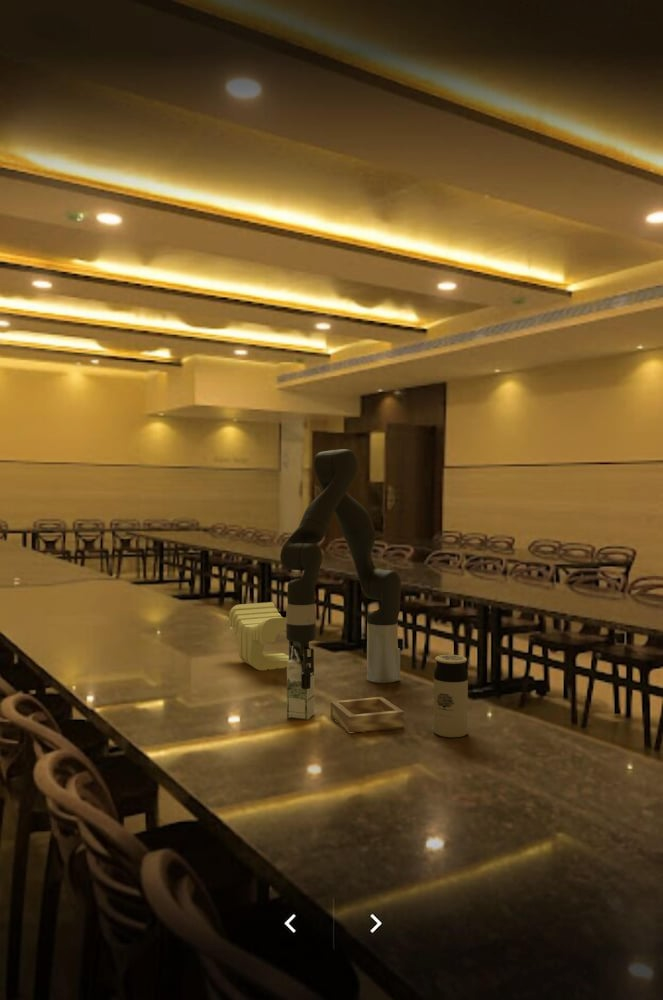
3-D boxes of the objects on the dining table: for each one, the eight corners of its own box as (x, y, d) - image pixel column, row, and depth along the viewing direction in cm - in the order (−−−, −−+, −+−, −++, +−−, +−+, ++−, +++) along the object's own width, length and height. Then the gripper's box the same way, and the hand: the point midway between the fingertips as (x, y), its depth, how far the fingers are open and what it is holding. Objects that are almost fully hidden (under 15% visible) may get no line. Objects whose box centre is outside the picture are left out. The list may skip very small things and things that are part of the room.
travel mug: (447, 725, 195) (447, 652, 195) (474, 733, 189) (474, 658, 189) (426, 733, 190) (427, 657, 189) (453, 740, 184) (454, 663, 183)
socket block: (381, 712, 206) (381, 696, 206) (403, 728, 193) (403, 711, 193) (330, 717, 202) (330, 701, 202) (349, 733, 189) (349, 717, 189)
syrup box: (315, 714, 204) (315, 658, 204) (307, 720, 199) (307, 663, 198) (294, 712, 206) (294, 656, 206) (286, 718, 201) (286, 661, 200)
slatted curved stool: (228, 657, 269) (228, 605, 269) (272, 653, 276) (272, 602, 276) (261, 677, 242) (261, 619, 242) (308, 672, 249) (309, 615, 249)
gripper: (324, 625, 196) (323, 690, 197) (307, 615, 210) (306, 677, 210) (294, 626, 194) (294, 693, 194) (279, 617, 207) (279, 679, 208)
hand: (300, 684), depth 202 cm, fingers closed on syrup box, 8 cm apart
